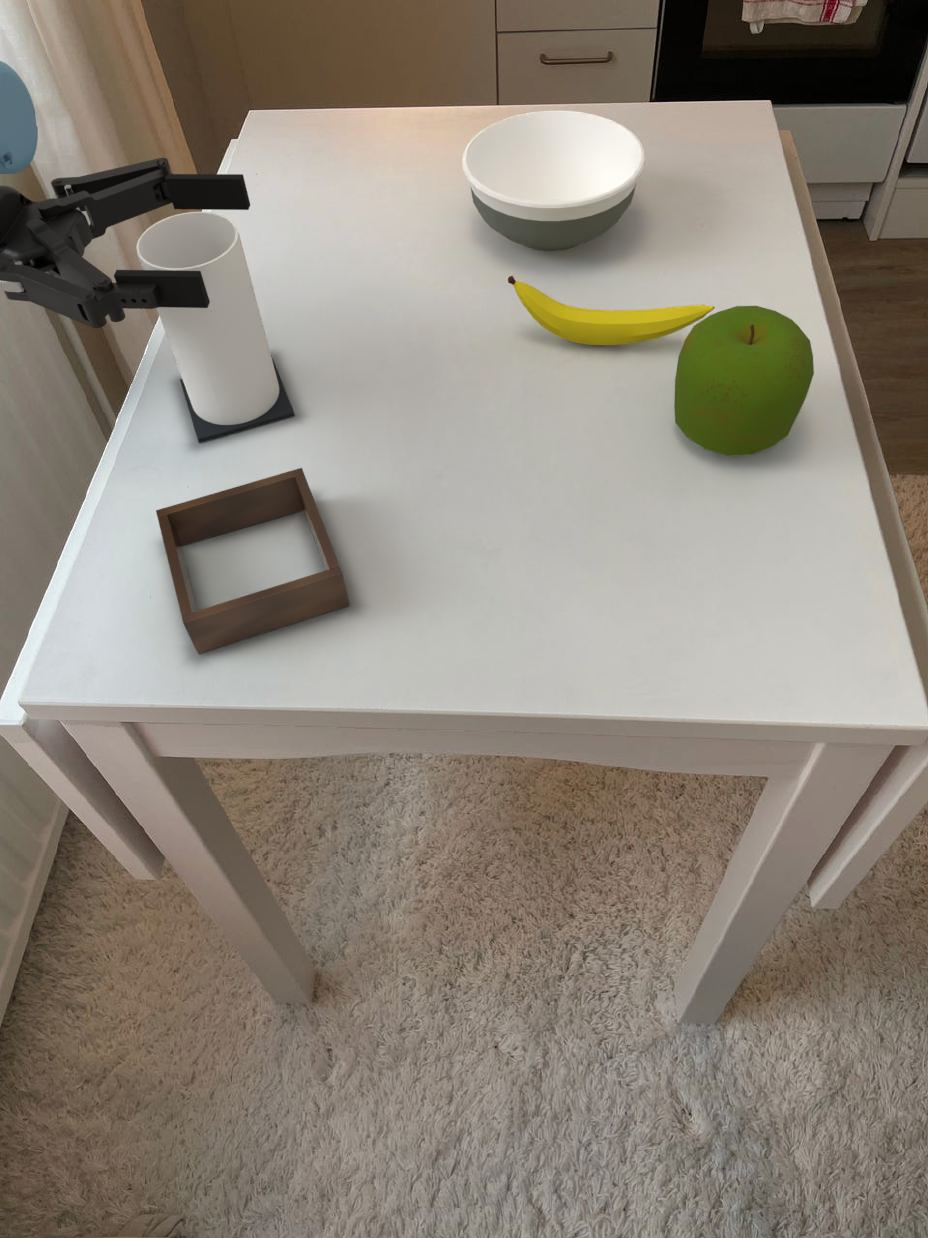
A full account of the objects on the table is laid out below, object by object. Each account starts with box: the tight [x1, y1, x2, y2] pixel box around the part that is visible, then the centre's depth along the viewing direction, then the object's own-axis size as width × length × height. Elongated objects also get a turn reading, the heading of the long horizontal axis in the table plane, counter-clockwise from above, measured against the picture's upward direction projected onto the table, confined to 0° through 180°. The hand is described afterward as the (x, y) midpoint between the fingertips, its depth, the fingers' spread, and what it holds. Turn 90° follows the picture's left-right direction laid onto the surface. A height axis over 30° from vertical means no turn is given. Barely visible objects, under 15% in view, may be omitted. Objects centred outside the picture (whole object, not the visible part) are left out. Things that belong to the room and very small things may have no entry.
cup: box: [136, 211, 279, 425], centre depth 83 cm, size 8×8×16 cm
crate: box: [155, 467, 351, 655], centre depth 75 cm, size 12×12×4 cm
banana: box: [507, 275, 715, 346], centre depth 89 cm, size 3×19×6 cm, turn 78°
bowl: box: [461, 109, 646, 252], centre depth 100 cm, size 19×19×8 cm
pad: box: [179, 355, 296, 444], centre depth 89 cm, size 9×9×1 cm
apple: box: [673, 305, 815, 457], centre depth 80 cm, size 11×11×11 cm
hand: (226, 238), depth 76 cm, fingers open, 13 cm apart
